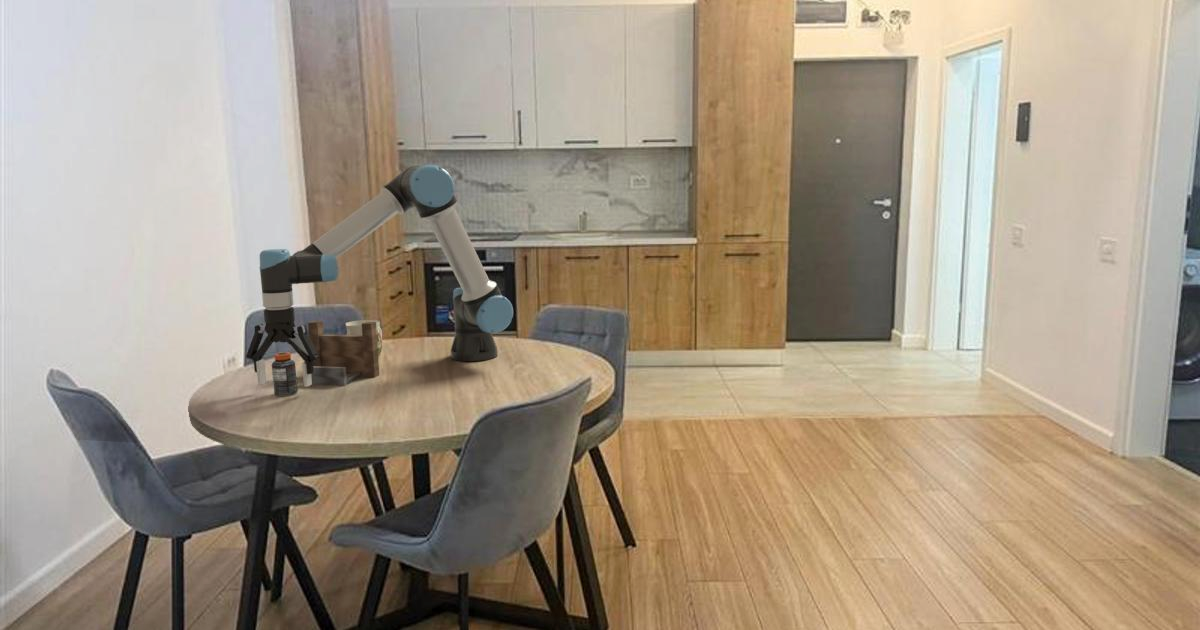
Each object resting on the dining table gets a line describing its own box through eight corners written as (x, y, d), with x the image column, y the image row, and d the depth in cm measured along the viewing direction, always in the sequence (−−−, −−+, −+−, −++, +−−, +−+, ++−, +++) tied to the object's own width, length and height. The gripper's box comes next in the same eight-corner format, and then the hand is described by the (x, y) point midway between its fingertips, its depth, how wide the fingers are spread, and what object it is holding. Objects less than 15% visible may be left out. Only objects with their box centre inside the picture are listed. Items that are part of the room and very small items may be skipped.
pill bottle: (292, 389, 216) (289, 349, 214) (301, 393, 212) (298, 353, 210) (270, 394, 212) (267, 353, 210) (279, 398, 208) (275, 356, 206)
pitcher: (397, 357, 254) (394, 316, 252) (366, 370, 237) (363, 326, 235) (367, 356, 257) (364, 315, 255) (335, 368, 240) (332, 325, 238)
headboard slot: (379, 374, 231) (375, 321, 229) (358, 386, 219) (354, 330, 216) (317, 372, 235) (313, 320, 232) (293, 383, 222) (288, 328, 220)
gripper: (329, 306, 209) (334, 382, 213) (245, 304, 214) (252, 379, 217) (314, 310, 202) (320, 389, 206) (227, 308, 207) (234, 386, 210)
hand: (285, 384), depth 212 cm, fingers open, 13 cm apart
